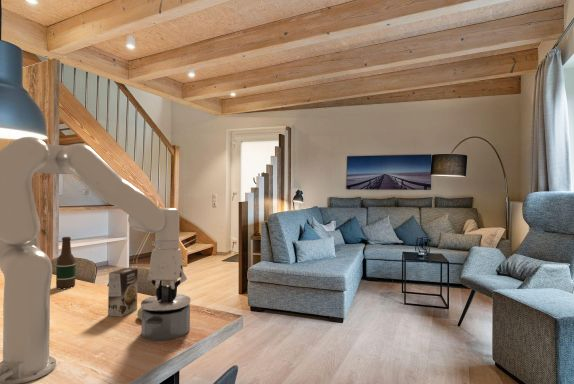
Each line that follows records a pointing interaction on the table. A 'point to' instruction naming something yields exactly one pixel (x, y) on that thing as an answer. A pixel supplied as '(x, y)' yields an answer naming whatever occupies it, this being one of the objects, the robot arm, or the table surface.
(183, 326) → the pot
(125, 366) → the table surface
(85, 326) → the table surface
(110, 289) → the coffee box
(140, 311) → the sea urchin shell
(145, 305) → the lid
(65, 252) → the beer bottle
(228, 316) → the table surface
